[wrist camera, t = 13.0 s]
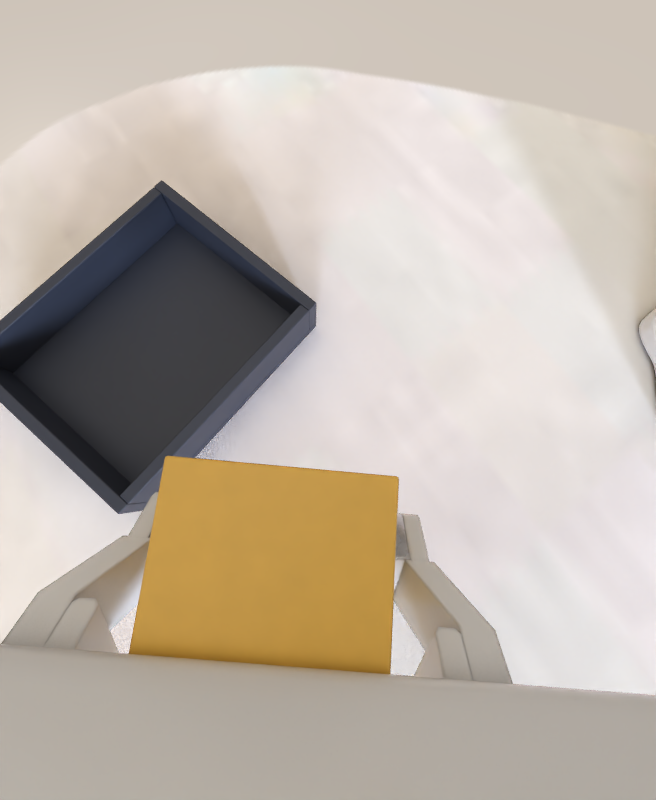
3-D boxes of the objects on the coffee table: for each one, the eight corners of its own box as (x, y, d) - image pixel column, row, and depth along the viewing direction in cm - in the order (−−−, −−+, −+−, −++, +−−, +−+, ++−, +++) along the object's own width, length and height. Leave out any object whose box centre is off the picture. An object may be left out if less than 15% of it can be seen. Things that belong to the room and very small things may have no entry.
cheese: (353, 481, 17) (399, 476, 8) (346, 577, 16) (390, 691, 7) (241, 471, 17) (164, 455, 8) (228, 567, 16) (124, 670, 7)
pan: (179, 216, 28) (161, 179, 25) (316, 325, 27) (316, 302, 23) (3, 376, 25) (-46, 359, 22) (146, 510, 24) (118, 514, 20)
